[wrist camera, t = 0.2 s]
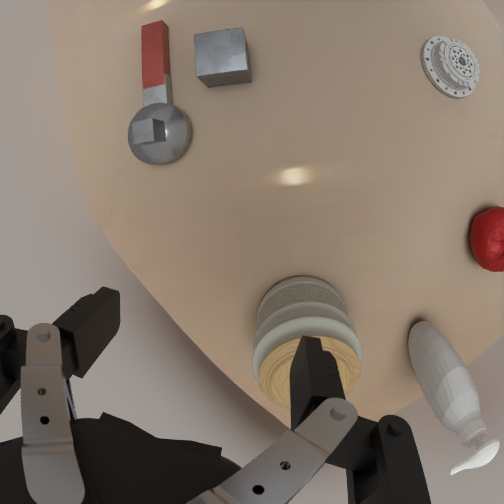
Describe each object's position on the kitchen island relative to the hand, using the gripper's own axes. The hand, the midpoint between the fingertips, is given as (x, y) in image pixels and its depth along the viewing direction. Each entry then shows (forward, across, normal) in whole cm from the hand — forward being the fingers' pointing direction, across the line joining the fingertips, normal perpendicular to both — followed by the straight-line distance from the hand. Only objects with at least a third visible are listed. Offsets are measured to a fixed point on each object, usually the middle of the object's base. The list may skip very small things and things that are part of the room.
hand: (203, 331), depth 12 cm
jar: (+29, -10, +14) cm, 33 cm away
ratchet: (+29, +15, -14) cm, 35 cm away
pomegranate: (+29, -37, -6) cm, 48 cm away
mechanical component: (+29, -24, -29) cm, 47 cm away
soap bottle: (+29, -32, +16) cm, 46 cm away
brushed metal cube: (+29, +7, -18) cm, 35 cm away
